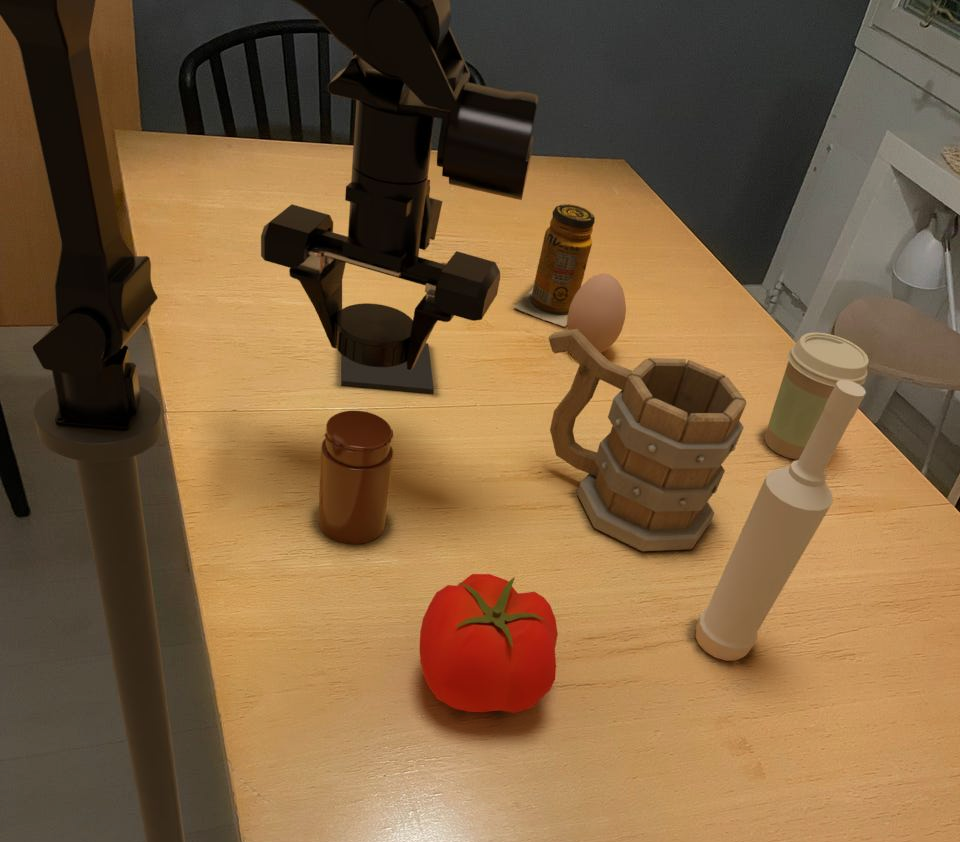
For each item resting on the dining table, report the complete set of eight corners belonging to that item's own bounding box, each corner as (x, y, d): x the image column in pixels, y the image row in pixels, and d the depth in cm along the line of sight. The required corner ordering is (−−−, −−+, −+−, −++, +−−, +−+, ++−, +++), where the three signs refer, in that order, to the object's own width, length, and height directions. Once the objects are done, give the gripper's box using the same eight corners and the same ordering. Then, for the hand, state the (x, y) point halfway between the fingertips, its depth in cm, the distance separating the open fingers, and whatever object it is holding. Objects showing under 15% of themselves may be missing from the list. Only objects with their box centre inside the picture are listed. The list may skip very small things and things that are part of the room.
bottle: (682, 624, 80) (799, 369, 62) (730, 616, 82) (857, 366, 64) (711, 667, 77) (843, 411, 59) (761, 657, 78) (904, 406, 61)
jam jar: (317, 542, 79) (321, 446, 72) (318, 499, 83) (323, 405, 76) (385, 546, 80) (396, 452, 73) (383, 504, 85) (394, 411, 77)
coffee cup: (824, 437, 107) (872, 343, 98) (824, 475, 101) (875, 379, 92) (754, 416, 108) (795, 321, 99) (750, 453, 102) (794, 356, 93)
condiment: (585, 304, 121) (609, 212, 113) (564, 328, 115) (588, 233, 107) (535, 286, 122) (555, 194, 114) (512, 309, 116) (531, 214, 108)
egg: (586, 371, 108) (607, 293, 102) (548, 343, 112) (567, 266, 105) (624, 359, 112) (647, 283, 105) (587, 333, 115) (607, 258, 108)
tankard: (721, 507, 93) (779, 377, 83) (677, 570, 85) (735, 435, 74) (552, 429, 98) (586, 297, 88) (495, 481, 90) (525, 342, 79)
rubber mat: (341, 385, 97) (341, 380, 97) (341, 339, 104) (341, 334, 104) (433, 394, 99) (434, 389, 99) (427, 347, 106) (428, 343, 106)
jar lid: (429, 350, 80) (432, 326, 78) (379, 376, 75) (381, 351, 74) (369, 319, 82) (371, 295, 80) (317, 343, 78) (318, 318, 76)
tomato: (384, 675, 70) (395, 594, 64) (483, 617, 76) (502, 538, 70) (478, 764, 66) (500, 686, 59) (576, 695, 72) (604, 618, 66)
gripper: (532, 170, 73) (497, 346, 84) (315, 110, 75) (309, 292, 86) (498, 216, 65) (465, 404, 77) (257, 148, 67) (258, 342, 78)
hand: (373, 357), depth 79 cm, fingers closed on jar lid, 6 cm apart
